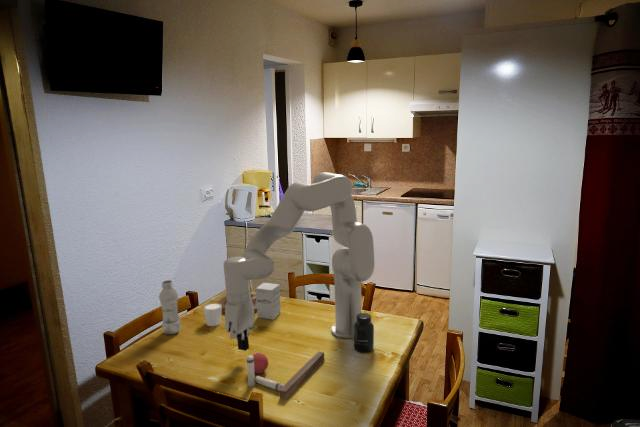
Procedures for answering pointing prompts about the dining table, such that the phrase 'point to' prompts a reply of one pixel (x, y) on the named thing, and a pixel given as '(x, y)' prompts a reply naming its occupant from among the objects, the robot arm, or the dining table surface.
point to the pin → (268, 383)
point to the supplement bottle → (363, 333)
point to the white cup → (213, 314)
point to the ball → (260, 362)
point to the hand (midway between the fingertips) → (243, 348)
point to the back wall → (301, 375)
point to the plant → (224, 301)
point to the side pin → (250, 371)
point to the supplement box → (268, 300)
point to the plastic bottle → (169, 308)
